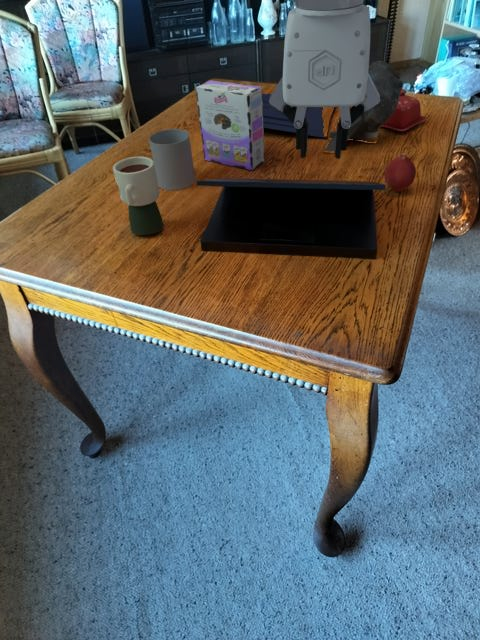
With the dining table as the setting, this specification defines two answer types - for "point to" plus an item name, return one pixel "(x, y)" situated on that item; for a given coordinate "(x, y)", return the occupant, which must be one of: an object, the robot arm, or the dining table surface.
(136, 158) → the character mug
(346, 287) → the dining table surface
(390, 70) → the narwhal figurine
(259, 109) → the candy box
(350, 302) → the dining table surface
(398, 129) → the butter dish
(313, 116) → the dark blue tray
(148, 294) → the dining table surface
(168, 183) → the cup
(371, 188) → the laptop screen
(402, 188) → the onion
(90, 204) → the dining table surface
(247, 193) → the laptop
